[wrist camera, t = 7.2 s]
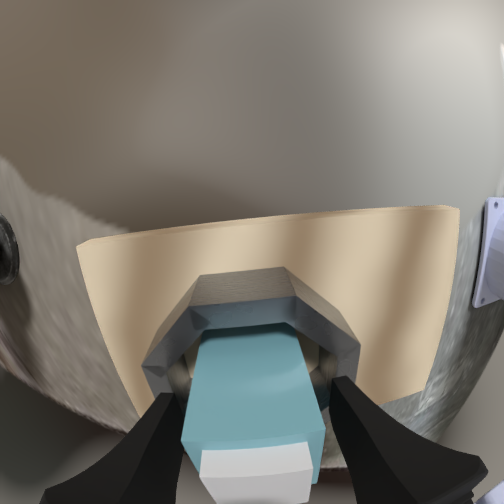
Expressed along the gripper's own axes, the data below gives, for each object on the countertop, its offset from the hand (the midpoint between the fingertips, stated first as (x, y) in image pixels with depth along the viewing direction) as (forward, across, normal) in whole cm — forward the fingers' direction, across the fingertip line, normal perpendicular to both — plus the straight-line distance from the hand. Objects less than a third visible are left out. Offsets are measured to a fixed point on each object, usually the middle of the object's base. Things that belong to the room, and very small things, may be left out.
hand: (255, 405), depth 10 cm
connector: (+4, 0, 0) cm, 4 cm away
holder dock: (+5, -2, 0) cm, 6 cm away
